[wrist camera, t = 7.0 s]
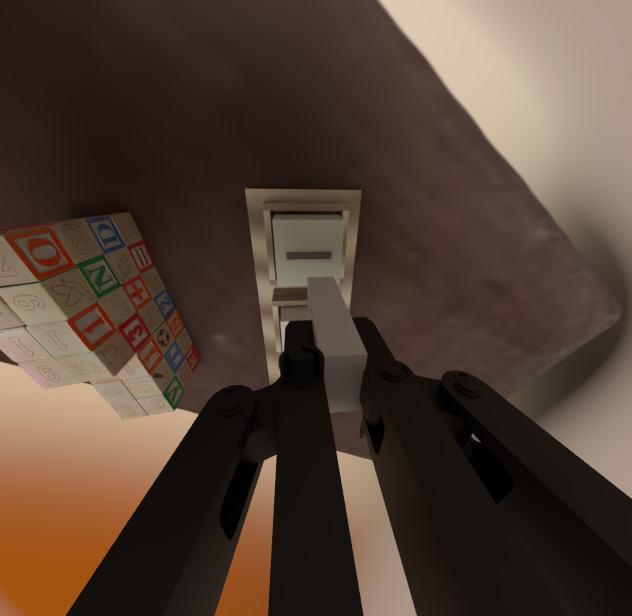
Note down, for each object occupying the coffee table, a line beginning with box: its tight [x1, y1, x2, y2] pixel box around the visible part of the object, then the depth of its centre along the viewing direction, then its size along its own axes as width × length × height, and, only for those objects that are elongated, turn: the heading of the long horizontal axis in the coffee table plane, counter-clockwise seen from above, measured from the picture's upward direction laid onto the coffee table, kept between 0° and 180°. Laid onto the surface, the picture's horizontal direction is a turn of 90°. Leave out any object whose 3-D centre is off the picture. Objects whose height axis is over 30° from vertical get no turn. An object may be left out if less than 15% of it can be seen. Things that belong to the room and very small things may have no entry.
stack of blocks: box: [0, 212, 200, 419], centre depth 24 cm, size 21×6×12 cm, turn 6°
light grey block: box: [272, 214, 344, 287], centre depth 21 cm, size 6×6×4 cm
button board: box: [245, 188, 362, 385], centre depth 29 cm, size 30×12×5 cm, turn 179°
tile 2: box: [280, 305, 308, 351], centre depth 26 cm, size 6×6×4 cm
